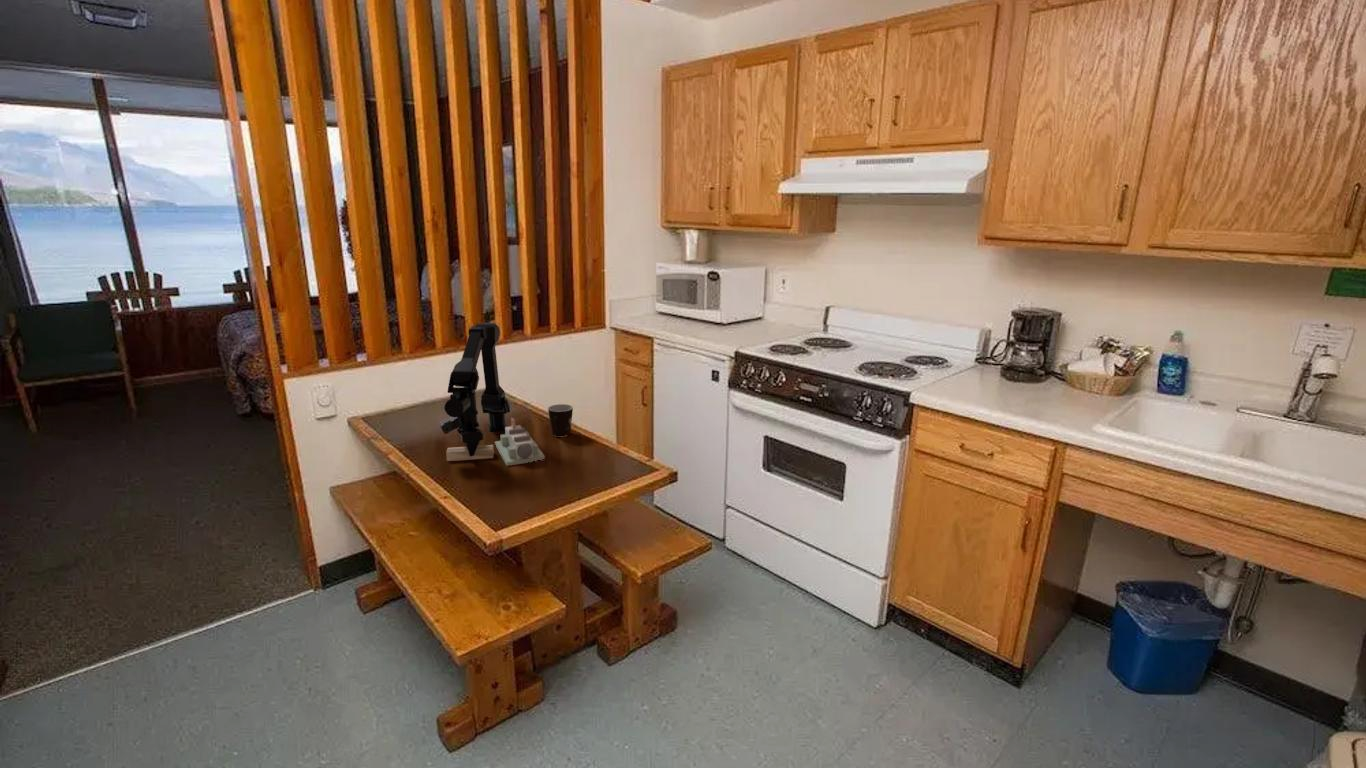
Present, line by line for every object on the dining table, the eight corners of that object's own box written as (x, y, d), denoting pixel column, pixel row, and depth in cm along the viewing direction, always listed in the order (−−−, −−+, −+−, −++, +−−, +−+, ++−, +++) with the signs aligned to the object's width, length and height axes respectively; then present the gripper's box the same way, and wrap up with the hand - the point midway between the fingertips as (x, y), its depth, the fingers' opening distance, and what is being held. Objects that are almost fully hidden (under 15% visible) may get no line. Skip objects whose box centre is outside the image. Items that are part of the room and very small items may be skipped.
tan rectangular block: (448, 456, 196) (447, 447, 195) (493, 453, 199) (493, 444, 198) (447, 461, 192) (446, 452, 191) (493, 457, 195) (492, 449, 195)
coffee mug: (560, 428, 223) (559, 402, 220) (578, 433, 219) (577, 406, 216) (537, 438, 213) (536, 411, 211) (556, 443, 209) (555, 415, 206)
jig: (495, 444, 206) (493, 419, 204) (530, 439, 212) (529, 414, 209) (507, 467, 188) (505, 439, 186) (545, 460, 194) (544, 433, 191)
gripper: (436, 402, 196) (440, 447, 200) (442, 419, 180) (447, 468, 184) (472, 398, 200) (475, 442, 205) (481, 414, 184) (485, 462, 189)
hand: (470, 453), depth 195 cm, fingers closed on tan rectangular block, 4 cm apart
